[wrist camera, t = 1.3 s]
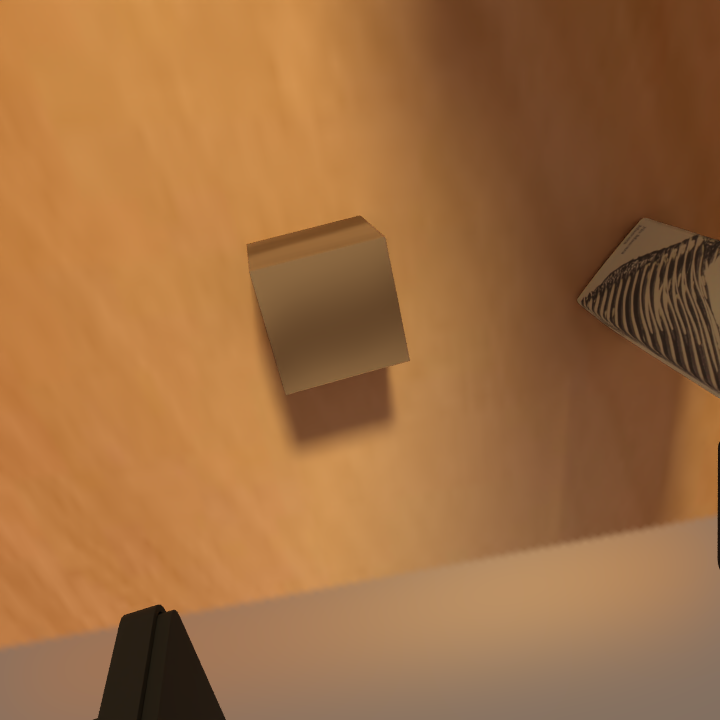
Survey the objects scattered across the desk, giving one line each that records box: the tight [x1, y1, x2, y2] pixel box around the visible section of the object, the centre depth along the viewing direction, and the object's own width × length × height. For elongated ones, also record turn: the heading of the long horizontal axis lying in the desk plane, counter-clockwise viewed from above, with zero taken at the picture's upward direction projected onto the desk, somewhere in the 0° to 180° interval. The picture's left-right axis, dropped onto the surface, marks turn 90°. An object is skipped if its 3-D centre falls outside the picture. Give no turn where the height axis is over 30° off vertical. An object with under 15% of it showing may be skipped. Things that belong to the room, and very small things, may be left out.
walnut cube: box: [247, 216, 410, 395], centre depth 26 cm, size 5×5×5 cm
